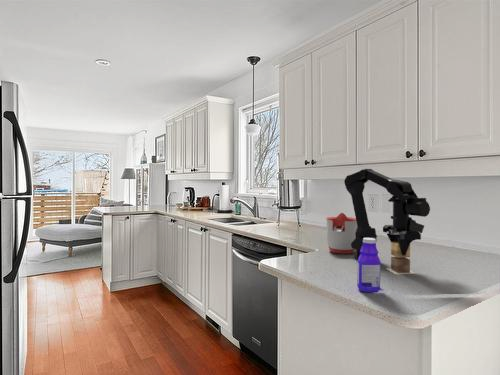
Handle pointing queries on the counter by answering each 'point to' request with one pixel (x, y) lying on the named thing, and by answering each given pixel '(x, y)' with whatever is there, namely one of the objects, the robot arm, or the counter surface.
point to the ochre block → (398, 250)
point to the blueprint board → (399, 273)
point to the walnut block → (400, 264)
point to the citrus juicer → (341, 233)
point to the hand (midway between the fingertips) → (400, 253)
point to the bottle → (368, 267)
